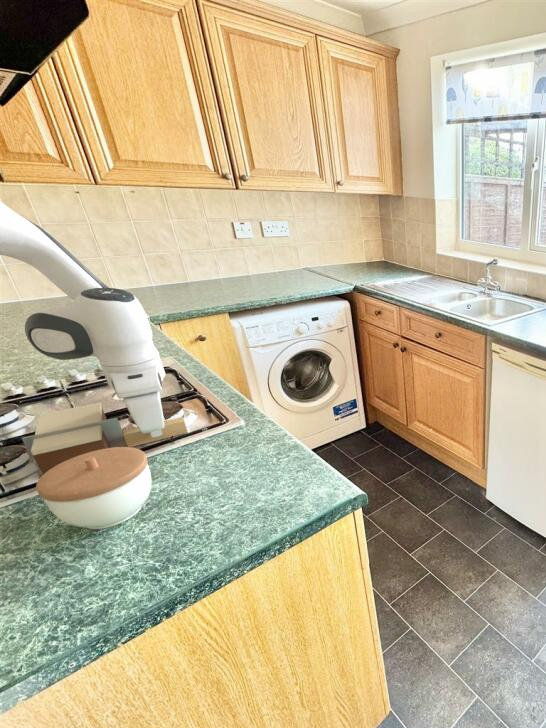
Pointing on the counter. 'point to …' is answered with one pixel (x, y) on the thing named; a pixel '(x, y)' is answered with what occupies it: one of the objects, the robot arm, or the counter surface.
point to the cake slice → (67, 446)
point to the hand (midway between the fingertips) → (156, 431)
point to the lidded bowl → (97, 487)
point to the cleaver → (118, 433)
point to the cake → (70, 418)
